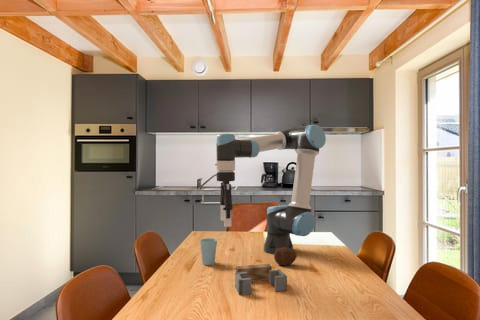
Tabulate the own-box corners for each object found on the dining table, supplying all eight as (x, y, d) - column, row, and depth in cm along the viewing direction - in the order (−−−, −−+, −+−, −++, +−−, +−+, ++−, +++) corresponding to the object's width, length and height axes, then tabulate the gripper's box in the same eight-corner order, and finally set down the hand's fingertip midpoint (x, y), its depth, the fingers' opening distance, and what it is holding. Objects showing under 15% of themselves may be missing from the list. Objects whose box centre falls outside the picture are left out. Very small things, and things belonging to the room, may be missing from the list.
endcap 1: (239, 294, 106) (239, 280, 106) (235, 286, 113) (235, 272, 114) (251, 293, 107) (251, 279, 107) (246, 285, 114) (246, 271, 114)
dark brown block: (268, 276, 125) (268, 263, 125) (271, 279, 121) (271, 266, 121) (235, 279, 122) (235, 266, 122) (237, 282, 118) (237, 269, 118)
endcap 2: (280, 282, 117) (280, 269, 117) (287, 290, 110) (287, 276, 110) (269, 283, 116) (269, 270, 116) (275, 291, 109) (275, 277, 109)
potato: (273, 262, 141) (273, 245, 142) (295, 262, 141) (295, 245, 141) (275, 267, 134) (275, 249, 134) (298, 268, 134) (297, 249, 134)
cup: (219, 264, 139) (219, 241, 139) (202, 267, 135) (202, 243, 136) (213, 260, 145) (213, 237, 146) (197, 262, 142) (197, 239, 143)
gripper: (214, 171, 140) (214, 218, 139) (219, 172, 115) (219, 229, 115) (230, 170, 141) (230, 218, 141) (239, 172, 116) (239, 229, 116)
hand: (225, 223), depth 128 cm, fingers open, 13 cm apart
